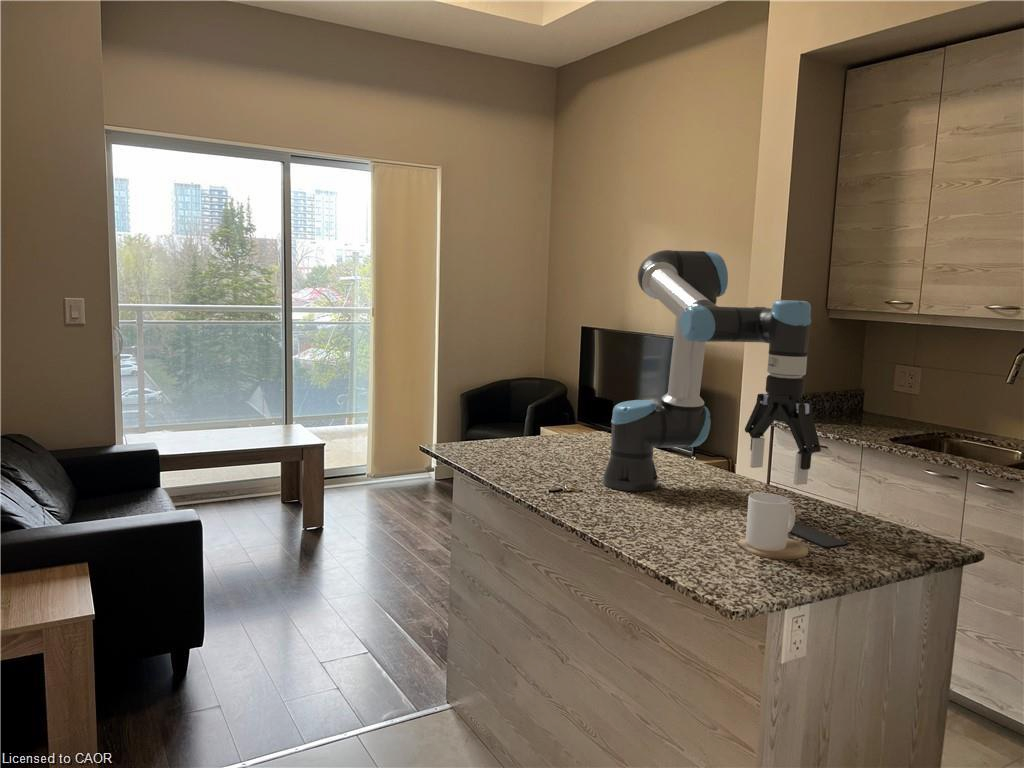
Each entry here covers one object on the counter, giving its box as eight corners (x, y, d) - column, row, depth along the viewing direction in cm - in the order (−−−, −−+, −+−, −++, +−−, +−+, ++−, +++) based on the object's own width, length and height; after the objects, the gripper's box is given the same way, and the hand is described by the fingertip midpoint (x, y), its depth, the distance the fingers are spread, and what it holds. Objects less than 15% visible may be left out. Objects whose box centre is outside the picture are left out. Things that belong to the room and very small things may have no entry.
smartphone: (825, 547, 157) (774, 525, 171) (824, 551, 158) (774, 528, 171) (850, 543, 160) (799, 521, 174) (850, 547, 161) (799, 525, 174)
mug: (778, 534, 164) (781, 489, 162) (808, 546, 156) (811, 499, 155) (737, 541, 158) (740, 494, 157) (765, 554, 151) (769, 505, 150)
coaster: (725, 540, 161) (725, 537, 161) (777, 534, 166) (777, 531, 166) (768, 562, 148) (768, 559, 148) (823, 555, 153) (823, 552, 153)
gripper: (733, 368, 163) (726, 461, 166) (815, 384, 140) (805, 493, 143) (760, 367, 165) (753, 459, 168) (846, 383, 142) (836, 490, 145)
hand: (777, 475), depth 156 cm, fingers open, 13 cm apart
